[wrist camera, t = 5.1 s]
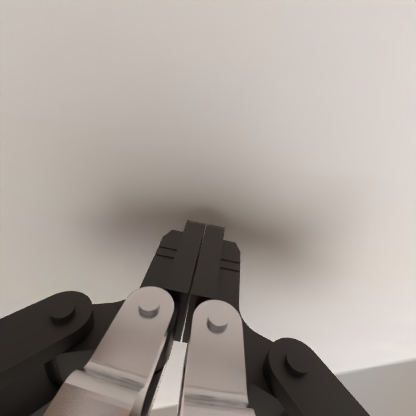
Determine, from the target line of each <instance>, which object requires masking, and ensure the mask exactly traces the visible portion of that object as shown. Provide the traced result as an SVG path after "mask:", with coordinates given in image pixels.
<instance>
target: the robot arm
mask: <svg viewBox="0 0 416 416" xmlns="http://www.w3.org/2000/svg"><path fill="white" fill-rule="evenodd" d="M224 229H225V228H224V227H219V226H214V225H209V224H207V226H206V230H205V224H204V223H199V222H194V221H189V220H188V221H187V223H186V226H185V229H184V232H180V231H175V230H171V231H170V232H169V233H167V234H166V235H165V236H164V237H163V238H162V241H161V243H160V245H159V248H158V249H157V252H156V254H155V256H154V258H153V260H152V262H151V265H150V267H149V269H148V271H147V273H146V276H145V278H144V280H143V282H142V284H141V286H140V288H139V289H137V290H135V291H134V292H132V293H131V294H130V295H129V296H128V297H127V299H125V300H122V301H119V302H114V303H104V304H92V302H91V300H90V299H89V297H88V296H86V295H85V294H83V293H81V292H76V291H66V292H61V293H57V294H55V295H52V296H50V297H48V298H46V299H44V300H41V301H39V302H37V303H35V304H32V305H30V306H28V307H26V308H24V309H21V310H19V311H17V312H15V313H12V314H10V315H8V316H6V317H4V318H1V319H0V416H149V415H150V412H151V409H152V406H153V403H154V400H155V397H156V394H157V391H158V388H159V385H160V382H161V379H162V376H163V373H164V370H165V367H166V364H167V361H168V359H169V356H170V353H171V349H172V345H173V341H174V340H175V341H180V340H181V336H182V331H183V327H184V323H185V318H186V323H185V329H184V334H183V340H182V342H185V343H188V344H187V349H186V354H185V360H184V365H183V370H182V378H181V386H180V393H179V401H178V409H177V416H370V415H369V414H368V413H367V412H366V411H365V409H364V408H363V407H362V406H361V405H360V404H359V403H358V401H356V399H355V398H354V397H353V396H352V395H351V394H350V392H348V390H347V389H346V388H345V387H344V386H343V384H342V383H341V382H340V381H339V380H338V379H337V378H336V376H335V375H334V374H333V373H332V372H331V371H330V370H329V368H328V367H327V366H326V365H325V364H324V363H323V362H322V360H321V359H320V358H319V357H318V356H317V355H316V354H315V352H314V351H313V350H312V349H311V348H310V347H308V346H307V345H306V344H304V343H303V342H301V341H299V340H296V339H293V338H280V339H278V340H276V341H275V342H272V341H270V340H268V339H267V338H265V337H263V336H261V335H259V334H257V333H256V332H254V331H253V330H252V329H250V328H249V327H248V326H247V325H246V323H245V322H244V320H243V319H242V317H241V315H240V311H239V284H240V251H239V249H238V247H237V245H236V243H234V242H229V241H225V240H223V237H224ZM204 230H205V235H204ZM203 235H204V239H203ZM202 241H203V243H202ZM201 246H202V247H201ZM188 305H189V306H188ZM187 310H188V312H187ZM186 314H187V317H186Z"/></svg>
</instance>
